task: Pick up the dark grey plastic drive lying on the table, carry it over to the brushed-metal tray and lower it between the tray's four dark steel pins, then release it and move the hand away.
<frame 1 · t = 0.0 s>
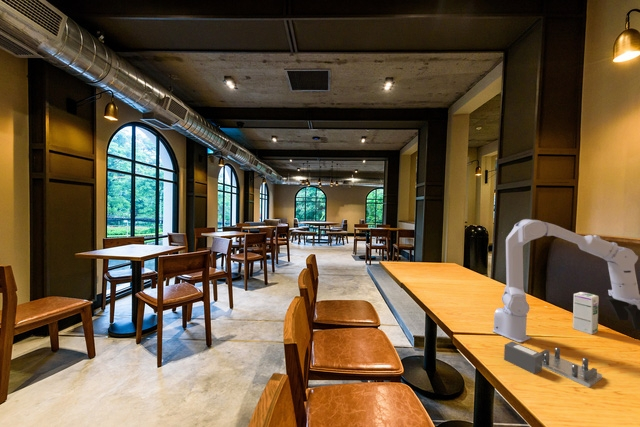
hand: (631, 324, 85), 11 cm above the table, tool pointing down, fingers open, 7 cm apart
pin tray: (565, 369, 77), on the table
drive: (522, 365, 79), on the table
syrup box: (584, 330, 104), on the table
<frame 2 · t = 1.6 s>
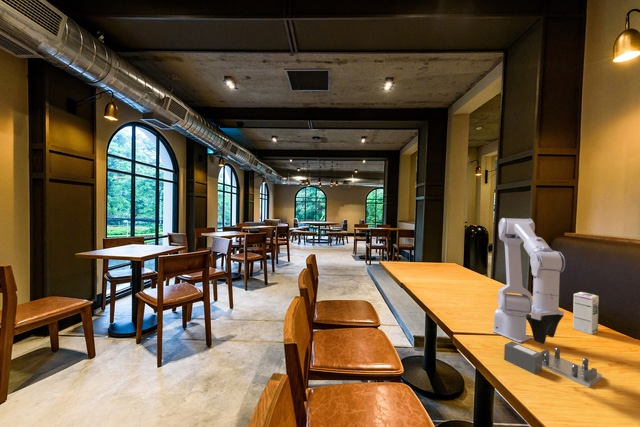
hand: (544, 339, 76), 10 cm above the table, tool pointing down, fingers open, 7 cm apart
nothing on the table moved.
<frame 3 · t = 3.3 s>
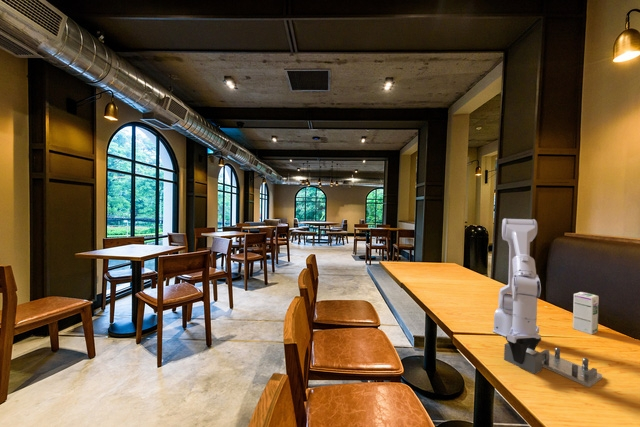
hand: (522, 360, 79), 1 cm above the table, tool pointing down, fingers closed on drive, 4 cm apart
drive: (522, 364, 79), on the table, touching gripper
everything else where it was.
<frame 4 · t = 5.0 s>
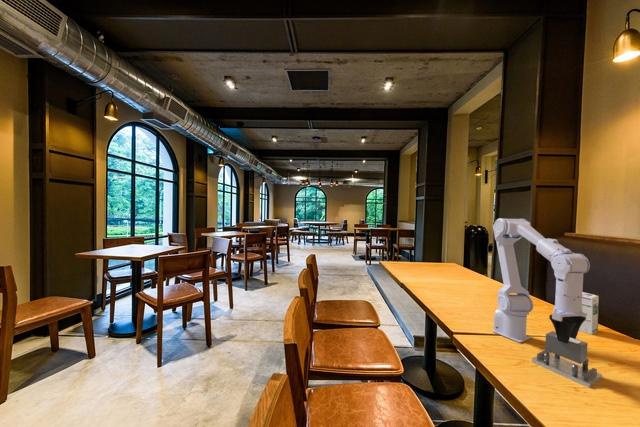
hand: (566, 340, 77), 9 cm above the table, tool pointing down, fingers closed on drive, 4 cm apart
drive: (565, 354, 78), point 4 cm above the table, touching gripper
everything else where it was.
when the fingers open (4 cm above the table, at t = 6.3 s): drive stays where it is, resting on pin tray.
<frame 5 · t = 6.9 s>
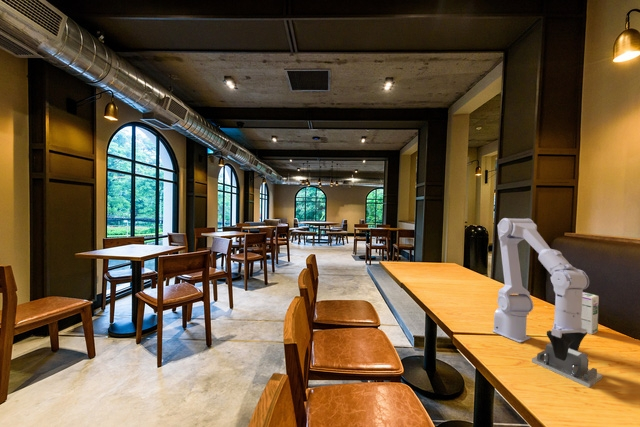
hand: (565, 355, 77), 4 cm above the table, tool pointing down, fingers open, 7 cm apart
drive: (565, 366, 77), point 1 cm above the table, touching pin tray
everything else where it was.
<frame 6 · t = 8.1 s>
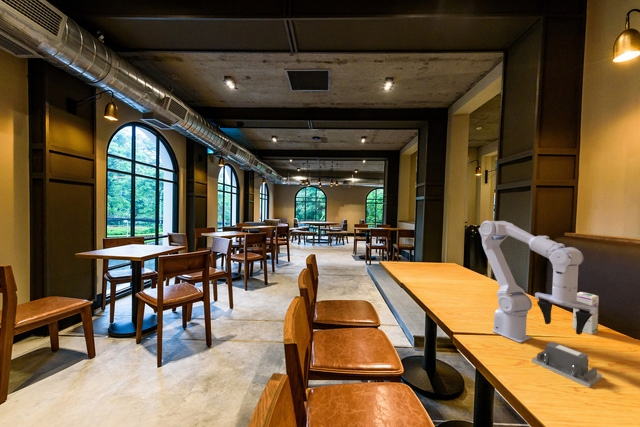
hand: (562, 328, 83), 10 cm above the table, tool pointing down, fingers open, 7 cm apart
nothing on the table moved.
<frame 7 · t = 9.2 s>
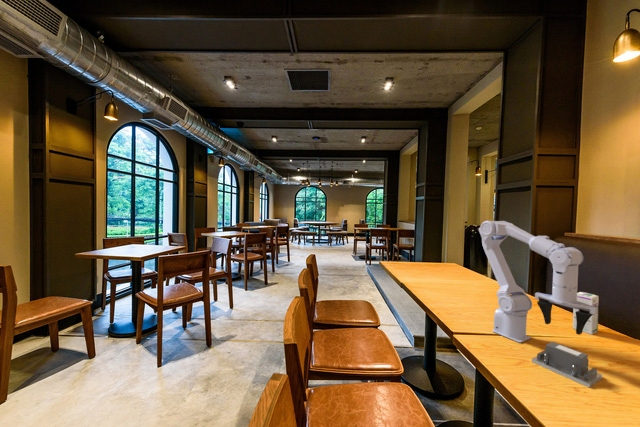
hand: (562, 328, 83), 10 cm above the table, tool pointing down, fingers open, 7 cm apart
nothing on the table moved.
at the end: drive 0.0 cm off-centre on the pin tray, point 1.0 cm above the pin tray's base; drive tilted 0°; the gripper is holding nothing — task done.
